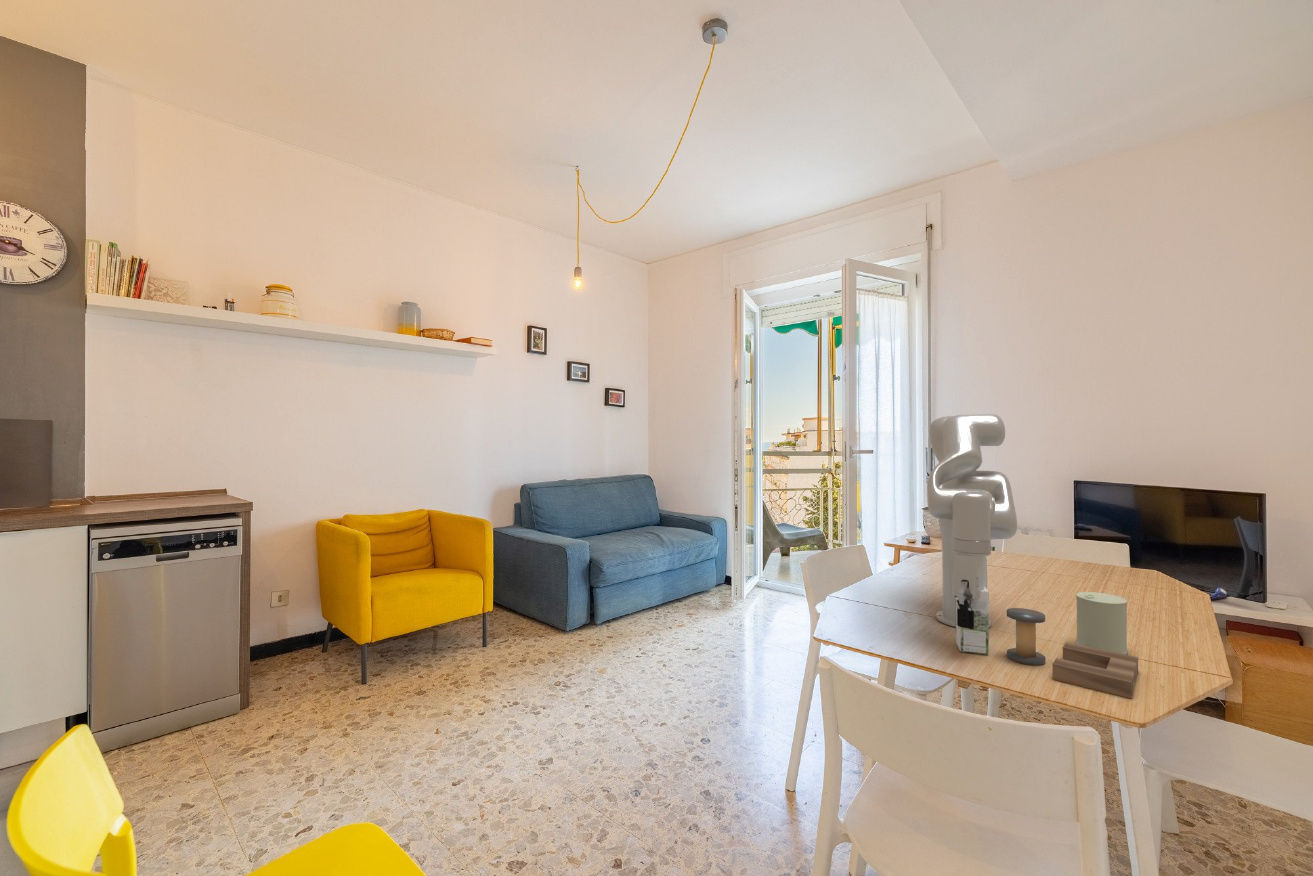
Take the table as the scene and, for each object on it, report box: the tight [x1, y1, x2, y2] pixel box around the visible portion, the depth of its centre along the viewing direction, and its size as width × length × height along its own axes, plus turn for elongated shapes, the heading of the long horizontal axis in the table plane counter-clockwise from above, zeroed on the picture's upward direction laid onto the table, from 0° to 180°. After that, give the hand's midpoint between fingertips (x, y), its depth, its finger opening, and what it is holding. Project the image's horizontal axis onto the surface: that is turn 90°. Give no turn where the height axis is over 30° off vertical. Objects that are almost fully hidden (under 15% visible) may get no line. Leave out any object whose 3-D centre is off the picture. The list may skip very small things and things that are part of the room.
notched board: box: [1051, 641, 1139, 700], centre depth 112 cm, size 16×12×3 cm
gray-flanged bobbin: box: [1006, 607, 1047, 667], centre depth 120 cm, size 7×7×10 cm
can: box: [1075, 591, 1129, 655], centre depth 126 cm, size 9×9×12 cm
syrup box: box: [955, 587, 990, 656], centre depth 126 cm, size 6×6×14 cm
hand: (972, 622), depth 125 cm, fingers open, 9 cm apart
